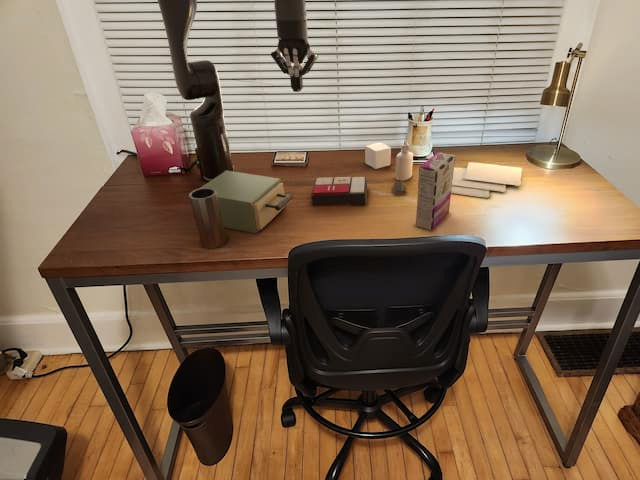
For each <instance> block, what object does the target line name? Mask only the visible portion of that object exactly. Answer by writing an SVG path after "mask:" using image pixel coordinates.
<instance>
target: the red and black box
mask: <svg viewBox="0 0 640 480" xmlns="http://www.w3.org/2000/svg"><path fill="white" fill-rule="evenodd" d="M367 179H368V178H367V177H365V176H352V177H351V176H335V177H333V176H331V177H329V176H328V177H317V178H316V179H315V181H314V184H313V187H312V191H311V195H310V197H311V204H312V206H320V205H326V206H327V205H350V206H352V207H353V206H366V205H367V197H368V196H367V195H368V192H367V191H368V181H367Z"/></svg>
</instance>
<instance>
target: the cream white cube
mask: <svg viewBox="0 0 640 480" xmlns="http://www.w3.org/2000/svg"><path fill="white" fill-rule="evenodd" d="M364 147H365V149H364V150H365V151H364V152H365V154H364V157H365V158H364V163H365V164H366V165H368V166H369V167H371V168H372V169H374V170H377V169H381V168H385V167H388V166H391V158H392V157H391V156H392V147H391V146H389V145H387V144H385V143H384V142H381V141H379V142H375V143H371V144H367V145H365V146H364Z"/></svg>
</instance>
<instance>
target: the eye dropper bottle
mask: <svg viewBox="0 0 640 480" xmlns="http://www.w3.org/2000/svg"><path fill="white" fill-rule="evenodd" d="M413 163H414V153H413V152H412V151H410V144H409V143H408V140H407V139H404V140H403V143H401V145H400V152H398V153H397V155H396V157H395V175H394V177H395V180H396V181H402V182H404V181H407V180H410V179H411V178H412V176H413Z"/></svg>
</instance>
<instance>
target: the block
mask: <svg viewBox="0 0 640 480" xmlns="http://www.w3.org/2000/svg"><path fill="white" fill-rule="evenodd" d="M392 193H393V194H394V195H399V196H400V195H404V194H406V193H407V191H406V186H405V182H404V181H399V180H396V181H395V182H394V183H393V190H392ZM393 194H392V195H393Z"/></svg>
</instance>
